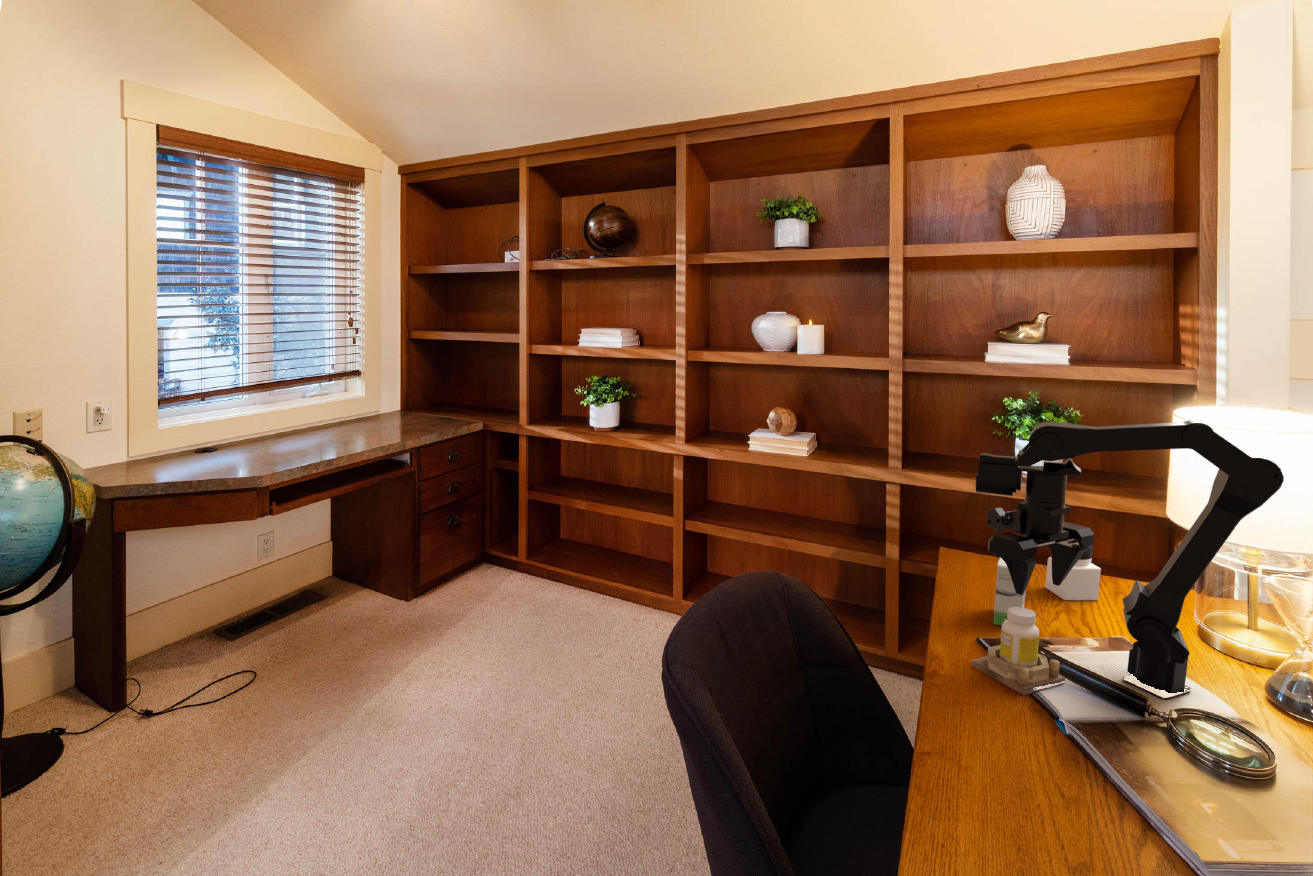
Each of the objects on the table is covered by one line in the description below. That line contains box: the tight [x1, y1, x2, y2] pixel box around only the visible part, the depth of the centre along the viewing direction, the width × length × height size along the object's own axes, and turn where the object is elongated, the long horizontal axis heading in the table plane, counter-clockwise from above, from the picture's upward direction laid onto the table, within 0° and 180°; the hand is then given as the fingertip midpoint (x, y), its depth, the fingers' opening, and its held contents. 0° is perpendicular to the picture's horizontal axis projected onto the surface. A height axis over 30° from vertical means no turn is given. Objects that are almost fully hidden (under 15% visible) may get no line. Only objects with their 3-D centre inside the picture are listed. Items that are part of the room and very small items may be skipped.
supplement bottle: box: [999, 607, 1040, 668], centre depth 107 cm, size 5×5×10 cm
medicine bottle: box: [1045, 545, 1102, 601], centre depth 139 cm, size 7×7×12 cm
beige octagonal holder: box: [970, 644, 1066, 696], centre depth 107 cm, size 10×9×3 cm
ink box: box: [993, 557, 1027, 626], centre depth 127 cm, size 9×5×12 cm, turn 148°
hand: (1038, 589), depth 110 cm, fingers open, 9 cm apart
